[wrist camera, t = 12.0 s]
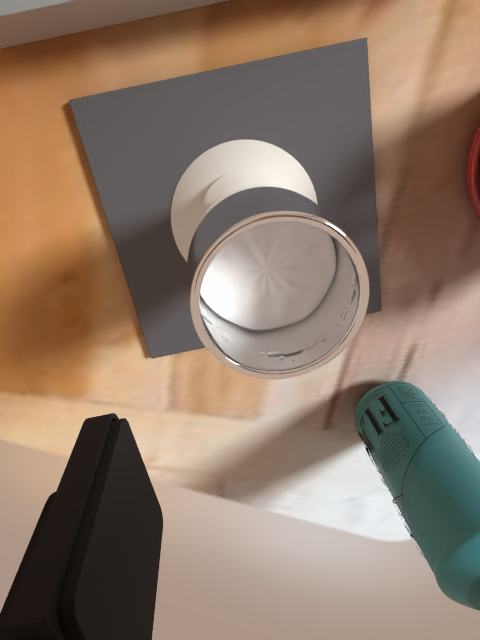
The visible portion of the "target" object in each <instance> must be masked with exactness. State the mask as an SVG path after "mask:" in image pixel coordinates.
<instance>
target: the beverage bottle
mask: <svg viewBox="0 0 480 640" xmlns="http://www.w3.org/2000/svg"><path fill="white" fill-rule="evenodd" d="M433 404H434V403H432V401H430V400H429V399H428V397H427V396H426V395H425V394H424V392H423V391H421V390H420V389H419V388H418V387H416V386H414V385H412V384H410V383H407V382H403V381H391V382H386V383H383V384H380V385H378V386H376V387H374V388H372V389H371V390H369V391H368V392H367V393H366V394H365V395H364V396H363V397H362V398H361V400H360V401H359V403H358V405H357V408H356V413H355V419H356V426H357V428H358V430H357V431H359V434H358V435H360V437H361V438H362V440H363V441H364V442H363V443H364V444H366V446H367V447H366V446H365V445H364V446H365V447H366V451H367V452H368V455H369V456H370V454H371V456H372V458H373V460H374V462H375V463H376V465H377V467H378V469H379V471H380V472H379V471H378V469H377V471H378V472H379V473H380V474H381V475H382V477H383V479H384V481H385V482H384V484H385V483H386V484H385V485H387V486H388V488H389V491H390V492H391V494H392V496H393V498H394V499H393V501H394V500H395V502H393V503H396V504H397V506H398V508H399V510H400V511H401V513H402V514H401V516H402V515H403V518H404V519H405V523H407V525H408V527H409V529H410V531H411V533H412V534H411V533H410V531H409V529H408V528H407V529H408V532H409V533H410V536H411V537H412V538H414V539H415V541H416V542H417V544H418V545H419V547H420V549H421V551H422V552H423V554H424V556H425V558H426V560H427V562H428V563H429V566H430V567H431V569H432V571H433V573H434V575H435V577H436V581H437V583H438V585H439V587H440V589H441V590H442V592H443V593H444V594H445V595H446V596H447V597H449V598H450V599H452V600H454V601H455V602H457V603H460V604H462V605H465V606H467V607H470V608H473V609H477V610H480V461H479V460H478V459H477V458H476V457H475V455H474V453H472V452H473V451H472V452H471V451H470V449H469V448H468V447H467V445H466V444H465V441H463V440H462V438H461V436H460V435H458V434H459V433H456V430H454V429H455V428H454V429H453V428H452V424H451V425H450V424H449V423H448V421H447V420H446V419H447V418H446V419H445V418H444V417H445V416H444V417H443V416H442V414H441V413H440V412H441V411H438V409H437V408H436V407H435V405H436V404H434V405H433ZM442 413H443V412H442ZM443 415H444V414H443ZM356 426H355V427H356ZM361 438H360V439H361ZM362 440H361V441H362ZM368 450H369V451H368ZM471 450H472V449H471ZM369 452H370V454H369ZM371 460H372V459H371ZM373 460H372V462H373ZM374 465H375V464H374ZM396 509H397V508H396ZM397 511H398V510H397ZM398 512H399V511H398ZM399 513H400V512H399ZM401 519H402V518H401ZM404 525H405V524H404ZM407 525H406V526H407ZM406 526H405V527H406Z"/></svg>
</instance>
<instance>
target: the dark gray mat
mask: <svg viewBox="0 0 480 640" xmlns="http://www.w3.org/2000/svg"><path fill="white" fill-rule="evenodd" d="M69 103H70V106H71V109H72V112H73V115H74V118H75V121H76V125H77V128H78V131H79V134H80V137H81V140H82V143H83V146H84V149H85V153H86V156H87V159H88V162H89V165H90V168H91V171H92V174H93V177H94V181H95V184H96V187H97V190H98V193H99V196H100V199H101V202H102V206H103V209H104V212H105V215H106V218H107V221H108V224H109V227H110V230H111V234H112V237H113V240H114V243H115V246H116V249H117V252H118V255H119V258H120V262H121V265H122V268H123V271H124V274H125V277H126V280H127V283H128V286H129V290H130V293H131V296H132V299H133V302H134V305H135V308H136V311H137V315H138V318H139V321H140V324H141V327H142V330H143V333H144V336H145V339H146V343H147V346H148V349H149V352H150V355H151V358H152V359H153V358H157V357H162V356H167V355H172V354H177V353H181V352H186V351H191V350H196V349H201V348H205V346H204V344H203V343H202V341H201V340H200V338H199V336H198V334H197V332H196V329H195V327H194V324H193V320H192V316H191V309H190V297H189V290H188V282H187V259H188V252H189V247H190V242H191V238H192V235H193V232H194V230H195V228H196V226H197V224H198V214H199V207H200V204H201V201H202V198H203V196H204V194H205V193H206V191H207V190H208V189H209V187H210V186H211V185H212V184H213V183H214V182H215V181H217V180H218V179H219V178H221V177H223V176H225V175H227V174H230V173H233V172H238V171H250V172H255V173H259V174H261V175H264V176H266V177H267V178H269V179H270V180H272V181H273V182H274V183H275V184H276V185H279V186H284V187H287V188H290V189H292V190H294V191H296V192H298V193H300V194H302V195H304V196H306V197H307V198H309V199H311V200H312V201H313V202H315V203H316V204H317V205H318V206H319V207H321V208H322V209H323V210H324V211H325V212H326V213H327V214H328V215H329V216H330V217H331V218H332V219H333V220H334V221H335V223H336V224H337V225H338V226H339V227H340V228H341V230H342V231H343V232H344V233H345V234H346V235H347V236H348V237H349V238H350V239H351V240H352V241H353V243H354V244H355V245H356V247H357V248H358V250H359V252H360V253H361V255H362V258H363V260H364V262H365V265H366V269H367V273H368V278H369V300H368V306H367V310H366V314H369V313H374V312H378V311H381V293H380V274H379V255H378V236H377V218H376V199H375V180H374V161H373V142H372V123H371V104H370V85H369V66H368V47H367V38H363V39H358V40H353V41H348V42H344V43H339V44H334V45H329V46H324V47H320V48H315V49H310V50H305V51H301V52H296V53H291V54H286V55H282V56H277V57H272V58H267V59H263V60H258V61H253V62H248V63H244V64H239V65H234V66H229V67H225V68H220V69H215V70H210V71H205V72H201V73H196V74H191V75H186V76H182V77H177V78H172V79H167V80H163V81H158V82H153V83H148V84H144V85H139V86H134V87H129V88H125V89H120V90H115V91H110V92H106V93H101V94H96V95H91V96H86V97H82V98H77V99H72V100H69Z"/></svg>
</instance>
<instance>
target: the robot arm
mask: <svg viewBox="0 0 480 640" xmlns="http://www.w3.org/2000/svg"><path fill="white" fill-rule="evenodd" d="M162 517H163V516H162V511H161V507H160V505H159V502H158V499H157V497H156V494H155V491H154V489H153V486H152V484H151V481H150V478H149V476H148V473H147V470H146V468H145V465H144V462H143V460H142V457H141V455H140V452H139V449H138V447H137V444H136V441H135V439H134V436H133V434H132V431H131V428H130V426H129V423H128V421H127V420H126V419H125V418H123V419H118V417H117V415H116V414H114V413H112V414H107V415H102V416H97V417H92V418H88V419H86V420H85V421H84V423H83V425H82V428H81V430H80V433H79V435H78V438H77V440H76V443H75V446H74V448H73V451H72V453H71V456H70V458H69V461H68V463H67V466H66V468H65V471H64V474H63V476H62V478H61V481H60V484H59V486H58V489H57V491H56V492H54V493H53V494H51V495H50V496H49V498H48V500H47V502H46V504H45V506H44V508H43V511H42V513H41V516H40V518H39V520H38V523H37V525H36V528H35V530H34V533H33V535H32V537H31V540H30V542H29V545H28V547H27V550H26V552H25V554H24V557H23V559H22V562H21V564H20V567H19V569H18V572H17V574H16V577H15V579H14V581H13V584H12V586H11V589H10V591H9V594H8V596H7V598H6V601H5V603H4V606H3V608H2V611H1V613H0V640H152V631H153V621H154V611H155V601H156V590H157V581H158V571H159V561H160V551H161V541H162V531H163V518H162Z"/></svg>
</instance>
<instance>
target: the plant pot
mask: <svg viewBox="0 0 480 640" xmlns="http://www.w3.org/2000/svg"><path fill="white" fill-rule="evenodd" d="M467 185H468V191H469V196H470V199H471V202H472V204H473V207H474V209H475V211H476V212H477V214H478V216H479V217H480V126H479V128H478V130H477V132H476V134H475V137H474V140H473V143H472V146H471V150H470V155H469V158H468V165H467Z"/></svg>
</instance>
